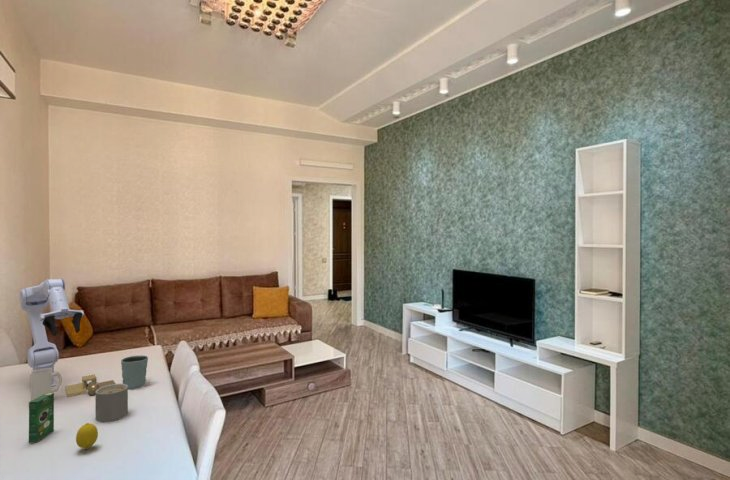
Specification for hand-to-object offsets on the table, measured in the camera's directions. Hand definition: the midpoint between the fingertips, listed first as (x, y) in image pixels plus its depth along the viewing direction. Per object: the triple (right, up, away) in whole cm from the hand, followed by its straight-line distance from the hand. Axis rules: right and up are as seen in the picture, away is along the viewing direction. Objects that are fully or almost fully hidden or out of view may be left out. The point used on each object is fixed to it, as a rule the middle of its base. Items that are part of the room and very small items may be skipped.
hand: (67, 332), depth 156 cm
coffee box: (+12, -28, -27) cm, 41 cm away
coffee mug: (+25, -28, -11) cm, 39 cm away
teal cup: (+17, -28, +17) cm, 37 cm away
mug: (-9, -28, +1) cm, 29 cm away
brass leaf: (-3, -27, +13) cm, 30 cm away
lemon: (+32, -28, -35) cm, 55 cm away
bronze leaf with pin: (+5, -27, +13) cm, 31 cm away
